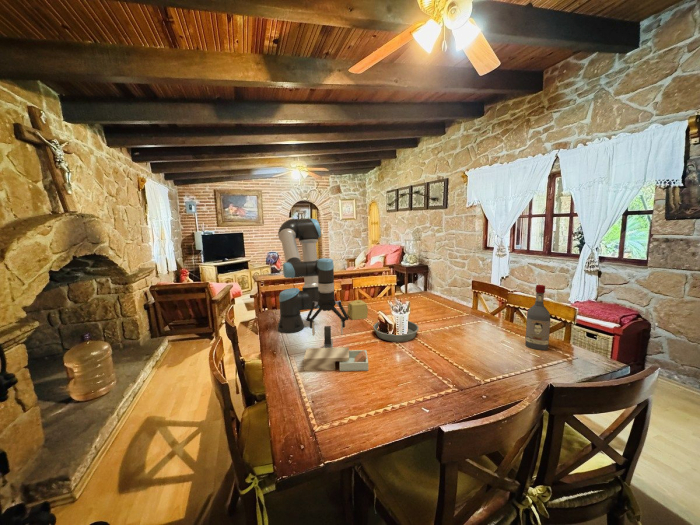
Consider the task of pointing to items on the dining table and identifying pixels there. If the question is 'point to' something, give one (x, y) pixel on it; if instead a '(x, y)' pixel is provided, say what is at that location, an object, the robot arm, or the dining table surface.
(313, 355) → the ledge
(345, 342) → the dining table surface
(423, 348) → the dining table surface
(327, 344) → the scraper
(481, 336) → the dining table surface
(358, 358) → the tile
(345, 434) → the dining table surface
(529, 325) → the liquor
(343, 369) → the box
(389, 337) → the cake pan
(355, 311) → the cheese
